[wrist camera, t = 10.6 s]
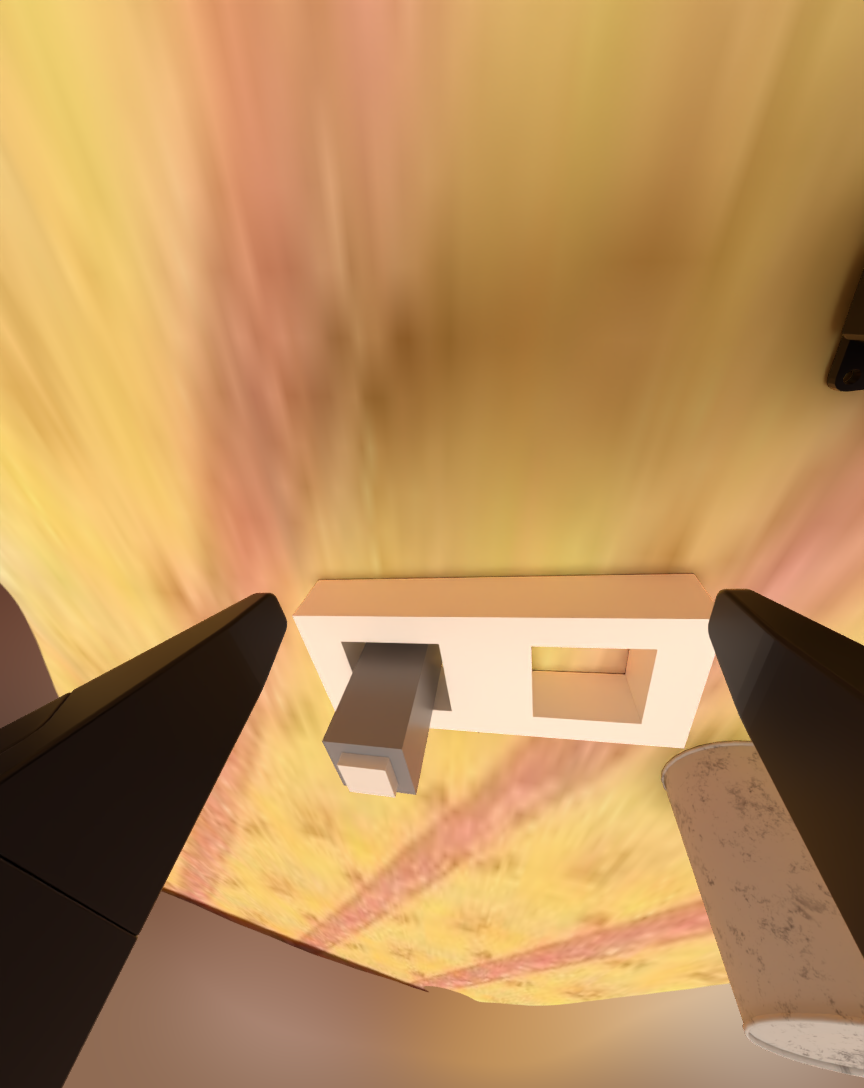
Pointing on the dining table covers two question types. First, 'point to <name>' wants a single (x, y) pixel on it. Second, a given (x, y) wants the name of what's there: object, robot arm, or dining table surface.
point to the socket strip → (505, 649)
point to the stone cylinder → (769, 909)
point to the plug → (385, 718)
